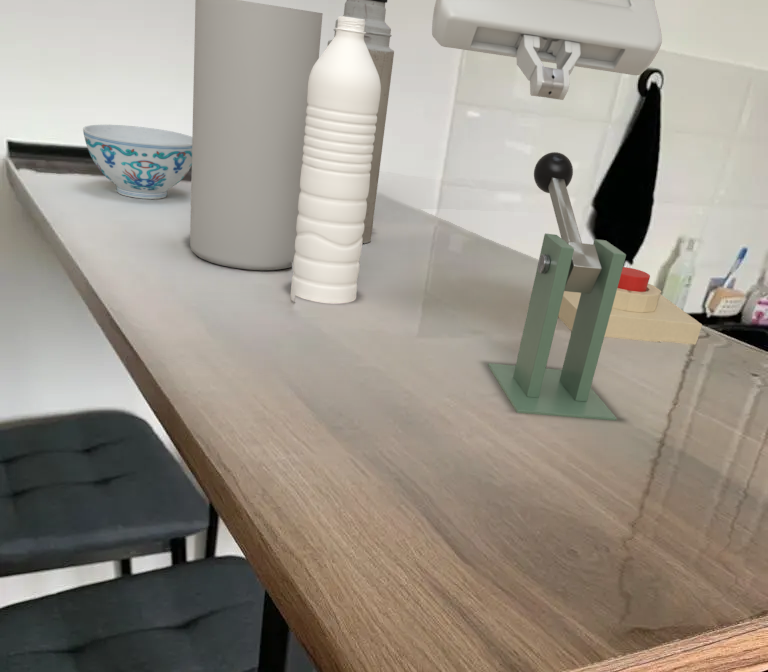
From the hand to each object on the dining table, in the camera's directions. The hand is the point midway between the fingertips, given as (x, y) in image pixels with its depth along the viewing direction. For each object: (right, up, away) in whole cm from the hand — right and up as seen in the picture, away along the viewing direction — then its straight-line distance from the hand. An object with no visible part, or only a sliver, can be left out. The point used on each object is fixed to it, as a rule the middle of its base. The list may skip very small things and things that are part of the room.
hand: (549, 93), depth 74 cm
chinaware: (-48, +8, +46) cm, 67 cm away
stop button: (+11, -13, +15) cm, 23 cm away
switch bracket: (-1, -27, -4) cm, 27 cm away
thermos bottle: (-20, 0, +40) cm, 44 cm away
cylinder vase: (-30, -7, +24) cm, 39 cm away
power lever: (0, -13, -4) cm, 14 cm away
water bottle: (-20, -15, +13) cm, 28 cm away
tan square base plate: (+10, -17, +17) cm, 26 cm away
